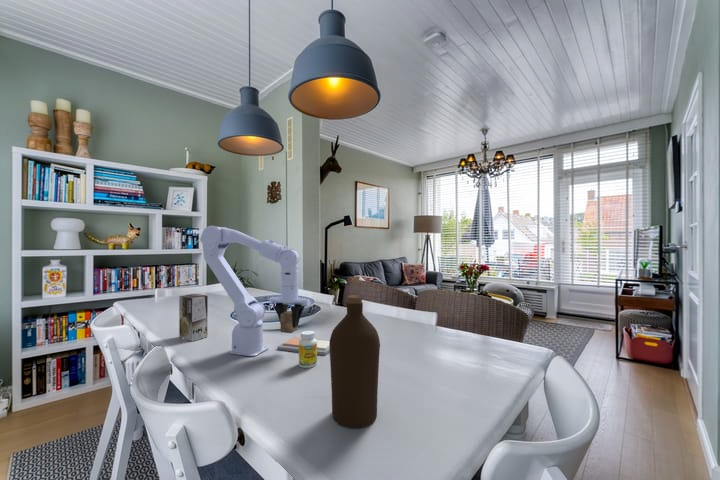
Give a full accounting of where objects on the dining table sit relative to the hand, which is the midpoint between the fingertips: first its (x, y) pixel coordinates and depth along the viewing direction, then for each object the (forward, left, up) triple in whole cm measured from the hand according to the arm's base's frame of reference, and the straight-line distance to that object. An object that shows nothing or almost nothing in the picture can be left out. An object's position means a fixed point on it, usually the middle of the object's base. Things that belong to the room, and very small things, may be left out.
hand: (289, 326), depth 102 cm
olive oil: (+33, -29, -9) cm, 45 cm away
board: (+4, +6, -8) cm, 11 cm away
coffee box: (-43, +2, -9) cm, 44 cm away
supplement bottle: (+11, -8, -9) cm, 16 cm away
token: (0, 0, -2) cm, 2 cm away
